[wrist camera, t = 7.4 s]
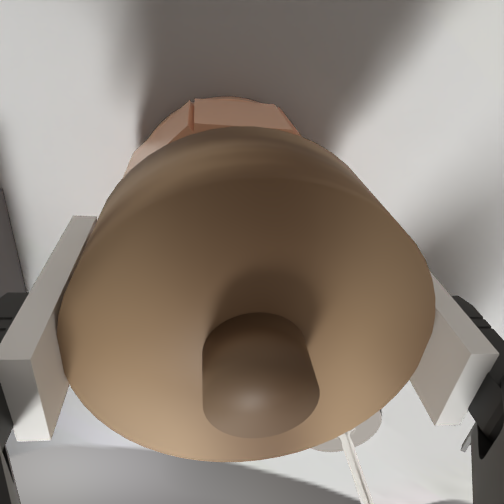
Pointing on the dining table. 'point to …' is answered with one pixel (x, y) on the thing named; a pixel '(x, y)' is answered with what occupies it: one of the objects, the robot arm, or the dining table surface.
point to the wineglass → (348, 445)
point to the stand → (8, 255)
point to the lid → (243, 300)
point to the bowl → (212, 121)
